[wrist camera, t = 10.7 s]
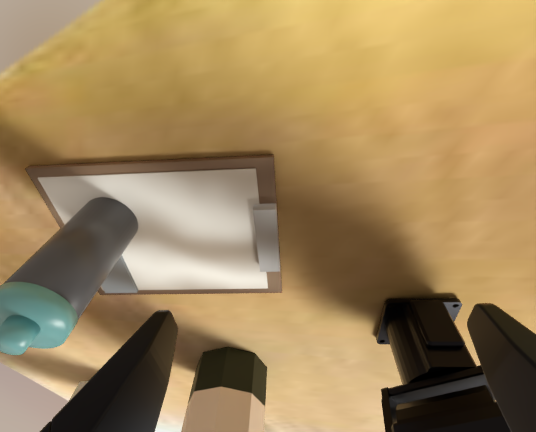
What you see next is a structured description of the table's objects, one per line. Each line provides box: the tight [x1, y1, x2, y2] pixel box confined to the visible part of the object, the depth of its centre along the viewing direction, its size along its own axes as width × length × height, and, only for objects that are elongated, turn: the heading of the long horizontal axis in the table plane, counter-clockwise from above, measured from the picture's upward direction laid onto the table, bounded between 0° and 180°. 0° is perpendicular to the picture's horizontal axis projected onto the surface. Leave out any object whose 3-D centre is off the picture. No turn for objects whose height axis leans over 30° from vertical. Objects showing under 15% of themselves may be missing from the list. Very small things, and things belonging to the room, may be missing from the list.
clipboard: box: [25, 155, 282, 295], centre depth 23 cm, size 13×17×1 cm
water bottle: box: [0, 197, 138, 355], centre depth 18 cm, size 4×4×10 cm
